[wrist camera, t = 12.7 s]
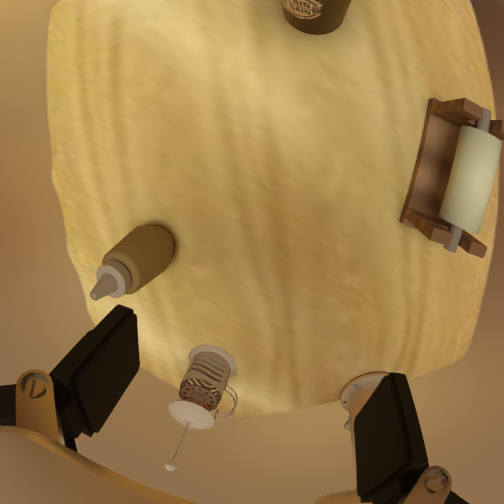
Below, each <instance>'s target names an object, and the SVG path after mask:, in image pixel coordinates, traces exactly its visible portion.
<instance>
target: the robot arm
mask: <svg viewBox="0 0 504 504" xmlns="http://www.w3.org/2000/svg"><path fill="white" fill-rule="evenodd" d="M139 366H140V360H139V346H138V329H137V316H136V314H134V312H133V309H130V308H128V307H125V306H122V305H120V304H119V305H117V306H115V307H114V309H113V310H112V311H111V312H110V313H109V314H108V315H107V316H106V317H105V318H104V319H103V320H102V321H101V322H100V323H99V324H98V325H97V326H96V327H95V328H94V329H93V330H91V331H89V332H88V333H87V334H86V335H85V336H84V337H83V338H82V339H81V340H80V341H79V342H78V343H77V344H76V345H75V346H74V347H73V348H72V350H71V351H70V352H69V353H68V354H67V355H66V356H65V357H64V358H63V359H62V360H61V362H60V363H59V364H58V365H57V366H56V367H55V368H54V369H53V370H52V371H51V372H50V374H47V373H46V372H45V371H42V370H37V369H33V370H28V371H26V372H24V373H23V374H22V375H21V376H20V377H19V378H18V380H17V383H16V384H13V385H4V386H0V504H200V503H196V502H193V501H189V500H186V499H183V498H179V497H177V496H173V495H171V494H168V493H165V492H162V491H159V490H156V489H154V488H151V487H149V486H146V485H144V484H141V483H138V482H136V481H134V480H131V479H129V478H127V477H125V476H123V475H120V474H118V473H116V472H114V471H112V470H110V469H107V468H105V467H103V466H101V465H99V464H97V463H95V462H93V461H92V460H90V459H88V458H86V457H84V456H82V455H81V454H80V449H79V445H78V440H77V438H78V436H79V435H80V434H81V432H82V433H84V434H86V435H88V436H89V437H91V436H92V435H93V433H94V432H95V433H98V432H99V431H100V429H101V428H102V426H103V425H104V423H105V421H106V420H107V418H108V417H109V415H110V414H111V412H112V410H113V409H114V407H115V406H116V404H117V403H118V401H119V400H120V398H121V396H122V395H123V393H124V392H125V390H126V389H127V387H128V386H129V384H130V383H131V381H132V379H133V378H134V376H135V375H136V373H137V372H138V370H139ZM341 403H342V406H343V407H344V408H345V409H346V410H348V411H349V413H350V414H349V415H350V416H349V420H348V421H347V422H346V424H345V425H344V427H345V429H347V430H351V444H352V464H353V469H354V471H355V473H356V475H357V489H353V490H348V491H342V492H336V493H331V494H325V495H322V496H319V497H317V498H315V499H314V500H313V501H312V503H311V504H469V503H467V502H466V501H465V500H463V499H462V498H460V497H459V496H458V495H457V494H455V493H454V492H452V491H451V487H452V479H451V476H450V474H449V473H448V471H446V470H445V469H444V468H442V467H440V466H430V467H429V464H428V458H427V454H426V449H425V445H424V440H423V436H422V432H421V428H420V424H419V420H418V416H417V413H416V409H415V405H414V402H413V398H412V395H411V391H410V388H409V385H408V381H407V378H406V376H405V374H400V373H392V372H391V373H389V374H388V373H380V372H376V373H369V374H365V375H362V376H360V377H358V378H356V379H354V380H352V381H351V382H349V383H348V384H347V385H346V386H345V388H344V389H343V390H342V393H341Z"/></svg>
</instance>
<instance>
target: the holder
mask: <svg viewBox="0 0 504 504" xmlns="http://www.w3.org/2000/svg"><path fill="white" fill-rule="evenodd" d="M483 112H484V108H482V107H480V106H479V105H477V104H475V103H473V102H472V101H470V100H468V99H466V98H461V99H456V100H451V101H445V102H441V101H439V100H437V99H435V98H431V99H429V102H428V108H427V114H426V119H425V125H424V130H423V134H422V139H421V144H420V148H419V153H418V157H417V161H416V165H415V169H414V173H413V177H412V180H411V184H410V188H409V191H408V195H407V198H406V202H405V205H404V208H403V211H402V215H401V218H400V222H401V223H402V224H404V225H407V226H410V227H413V228H416V229H418V230H419V231H421V232H422V233H423V234H424V235H425V236H426V237H427V238H428V239H429V240H431V241H434V242H437V243H440V244H443V245H446V246H449V245H450V242H451V240H452V237H453V234H452V233H451V232H449V231H450V228H451V225H452V224H451V223H449V222H447V221H446V220H444V219H442V218H441V217H439V212H440V209H441V206H442V203H443V199H444V196H445V192H446V189H447V185H448V181H449V178H450V174H451V170H452V166H453V162H454V157H455V153H456V148H457V143H458V138H459V133H460V128H461V126H469V127H473V128H476V125H477V120H482V119H483ZM488 133H489V134H491V135H493V136H495V137H496V138H498V139H500V140H504V121H503V120H490V126H489V132H488ZM458 245H459V246H460V247H462V248H463V249H464V250H465V251H466V252H467V253H470V254H473V255H475V256H478V257H481V258H484V255H485V253H486V250H487V247H486V246H485V245H484V244H482V243H481V242H480V241H478V240H477V239H476V238H474V237H473V236H471V235H470V234H469V233H467V232H466V231H464V230H463V233H462V235H461V238H460V241H459V244H458Z"/></svg>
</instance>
